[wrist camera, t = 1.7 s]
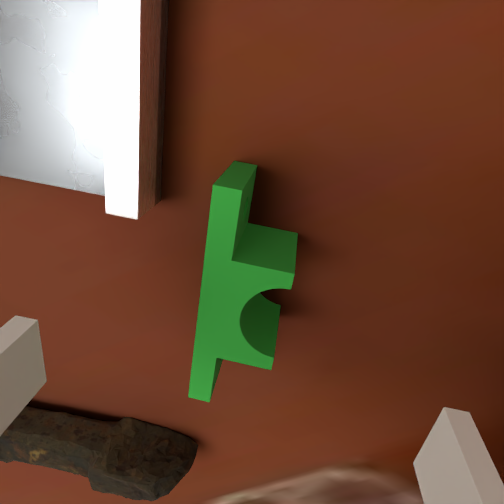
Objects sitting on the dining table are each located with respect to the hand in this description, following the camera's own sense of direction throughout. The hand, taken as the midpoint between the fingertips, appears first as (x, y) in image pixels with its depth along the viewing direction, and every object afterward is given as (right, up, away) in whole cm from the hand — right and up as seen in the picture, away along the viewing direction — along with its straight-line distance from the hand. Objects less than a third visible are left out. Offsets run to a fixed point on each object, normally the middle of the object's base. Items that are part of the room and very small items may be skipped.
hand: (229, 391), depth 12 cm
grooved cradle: (-9, +13, +5) cm, 16 cm away
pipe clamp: (+1, +4, +8) cm, 9 cm away
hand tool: (-12, -7, +16) cm, 21 cm away
